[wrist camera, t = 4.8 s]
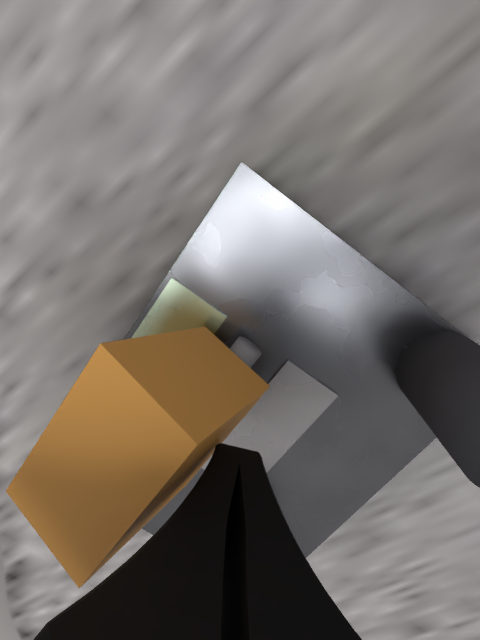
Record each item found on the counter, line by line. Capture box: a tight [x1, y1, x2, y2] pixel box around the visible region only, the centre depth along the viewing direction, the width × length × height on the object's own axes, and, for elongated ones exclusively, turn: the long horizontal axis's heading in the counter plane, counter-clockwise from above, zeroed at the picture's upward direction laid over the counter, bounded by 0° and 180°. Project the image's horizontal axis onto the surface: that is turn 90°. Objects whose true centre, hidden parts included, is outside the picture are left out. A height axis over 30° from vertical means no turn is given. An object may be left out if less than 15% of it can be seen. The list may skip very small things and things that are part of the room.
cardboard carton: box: [6, 326, 270, 588], centre depth 11 cm, size 3×6×6 cm, turn 144°
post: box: [396, 331, 480, 487], centre depth 11 cm, size 3×3×4 cm
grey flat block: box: [124, 162, 465, 558], centre depth 16 cm, size 12×15×3 cm
